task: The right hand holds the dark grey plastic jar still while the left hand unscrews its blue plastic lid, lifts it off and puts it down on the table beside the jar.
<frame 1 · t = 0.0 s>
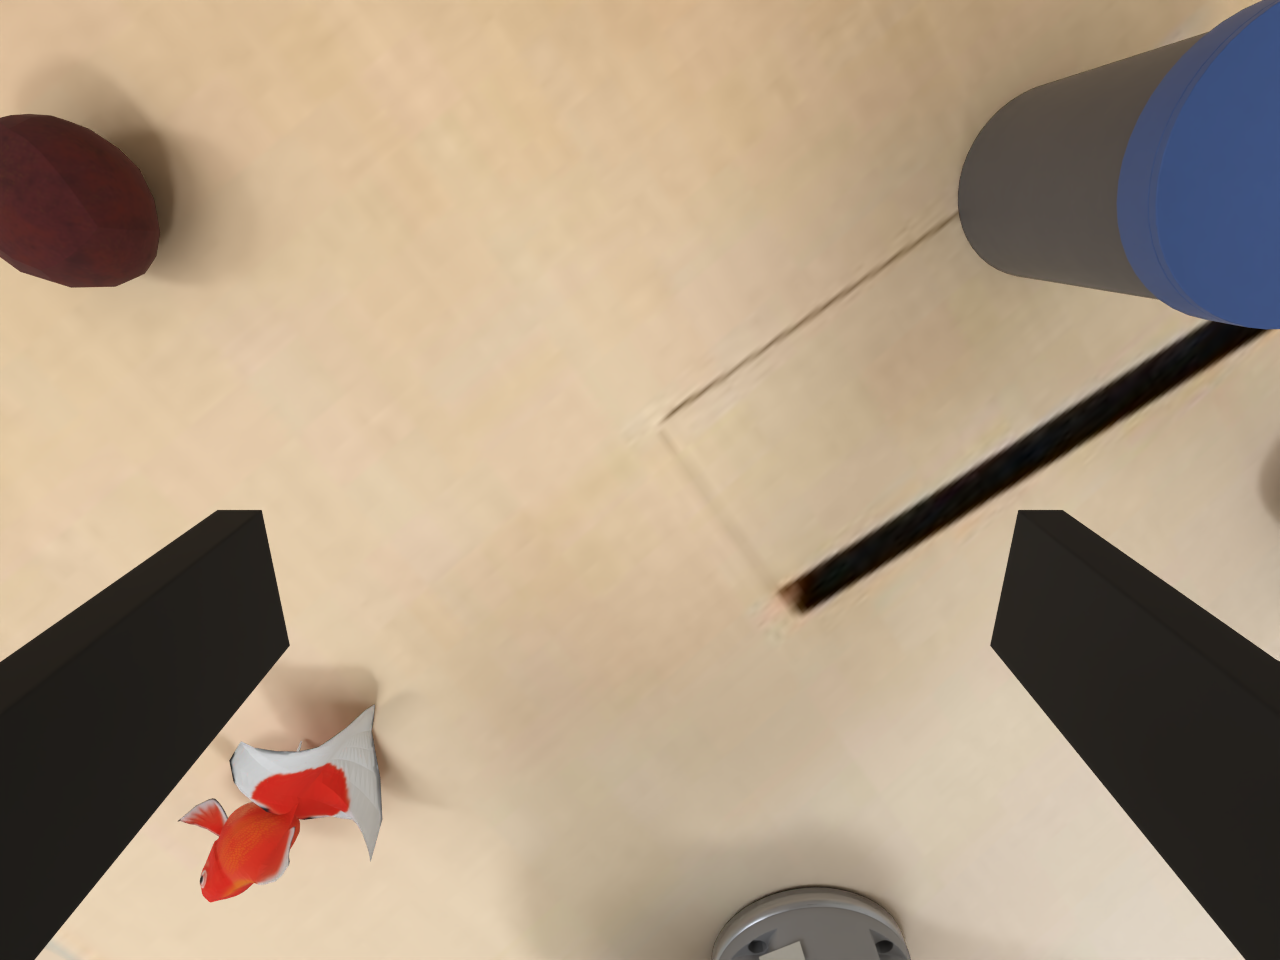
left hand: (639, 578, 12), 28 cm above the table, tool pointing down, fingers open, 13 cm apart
potato: (120, 208, 36), on the table
fish: (314, 754, 49), on the table
jar: (1048, 183, 36), on the table
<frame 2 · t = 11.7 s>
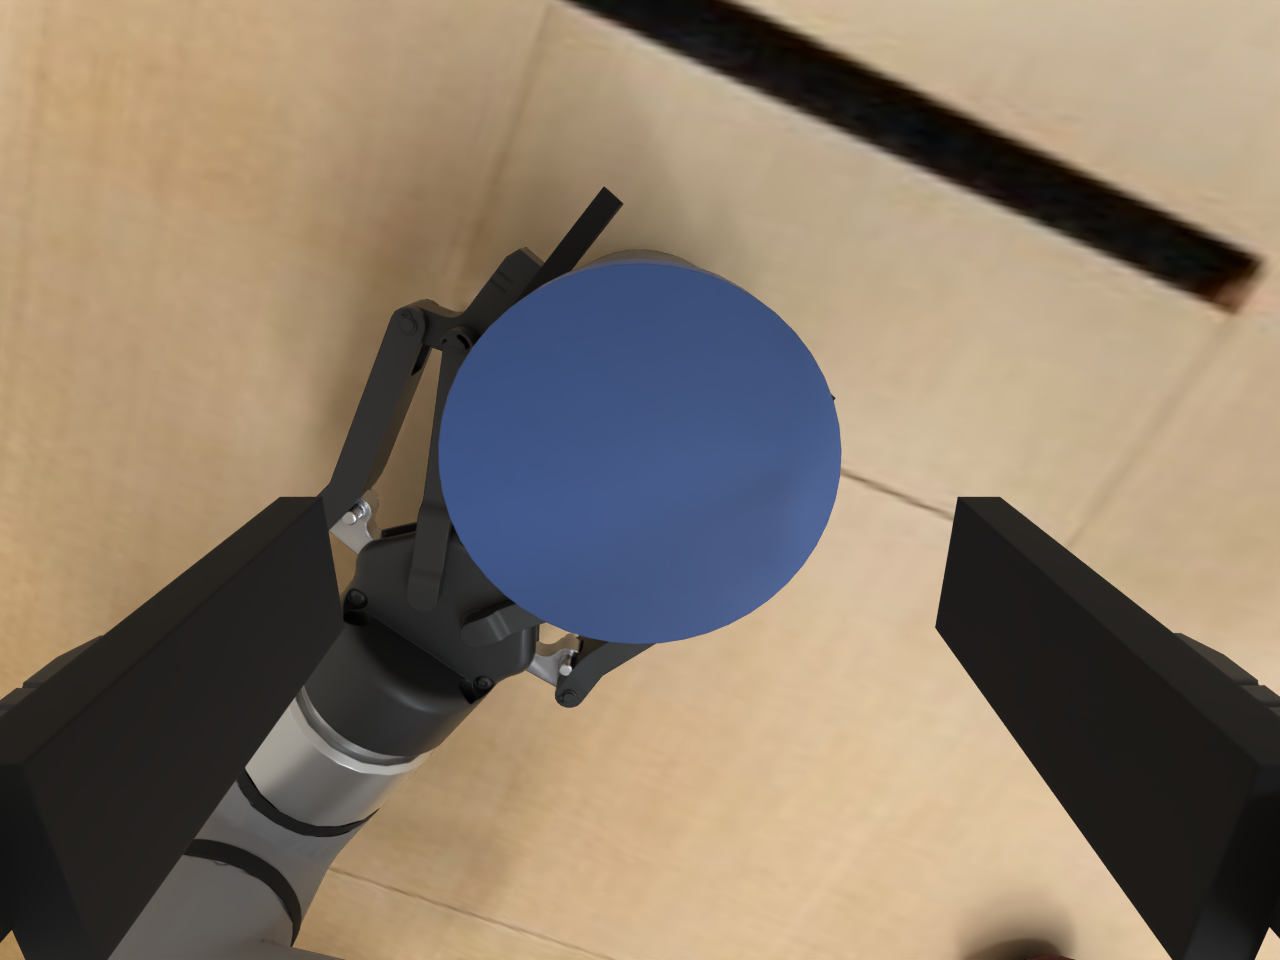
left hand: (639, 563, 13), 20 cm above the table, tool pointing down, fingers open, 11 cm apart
right hand: (721, 293, 25), fingers closed on jar, 9 cm apart
lid: (639, 468, 18), point 15 cm above the table, screwed on, not yet turned
jar: (639, 355, 32), on the table, touching right hand
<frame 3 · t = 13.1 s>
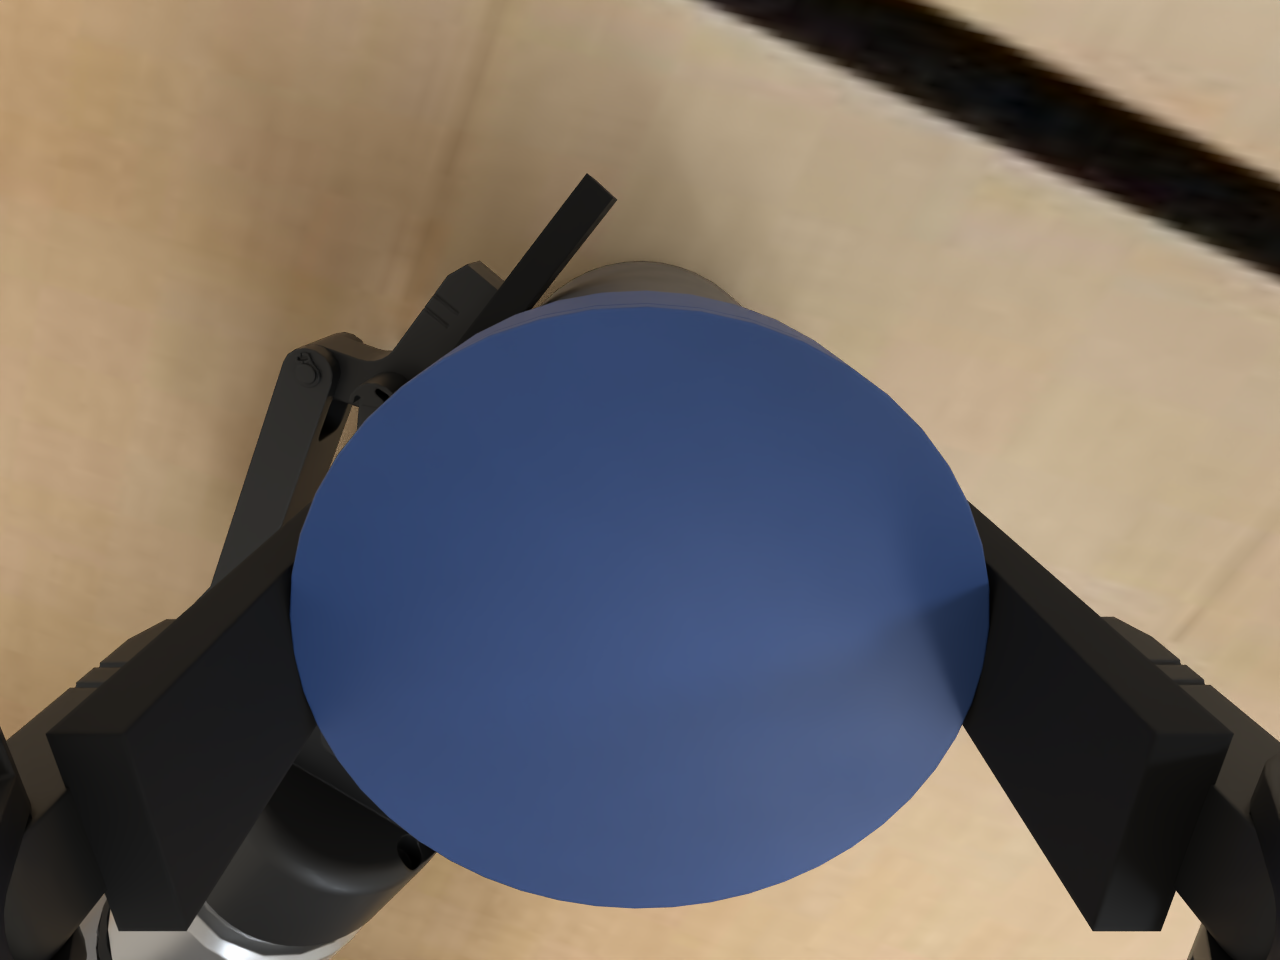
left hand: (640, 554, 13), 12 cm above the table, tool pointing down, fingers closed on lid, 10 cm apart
right hand: (755, 326, 18), fingers closed on jar, 9 cm apart
lid: (639, 646, 11), point 15 cm above the table, screwed on, not yet turned, touching left hand
jar: (640, 398, 25), on the table, touching right hand
when the left hand's fingers open (12 cm above the table, at t = 14.8 s): lid stays where it is, point 15 cm above the table.
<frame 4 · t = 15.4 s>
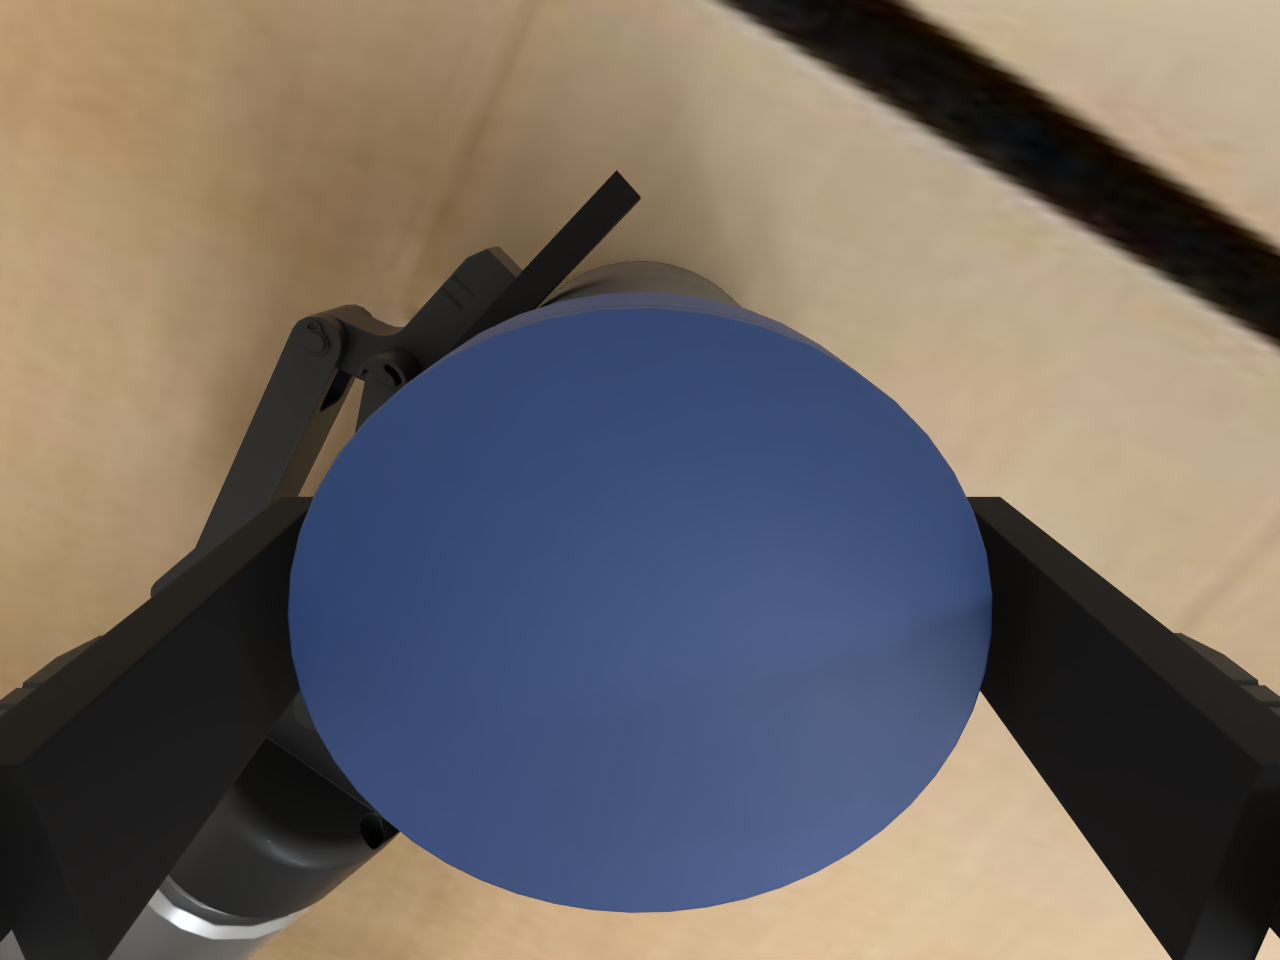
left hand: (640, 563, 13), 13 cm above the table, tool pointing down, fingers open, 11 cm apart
right hand: (765, 337, 18), fingers closed on jar, 9 cm apart
lid: (640, 650, 10), point 15 cm above the table, turned 95° so far, risen 0.2 cm, still on its thread
jar: (640, 397, 25), on the table, touching right hand
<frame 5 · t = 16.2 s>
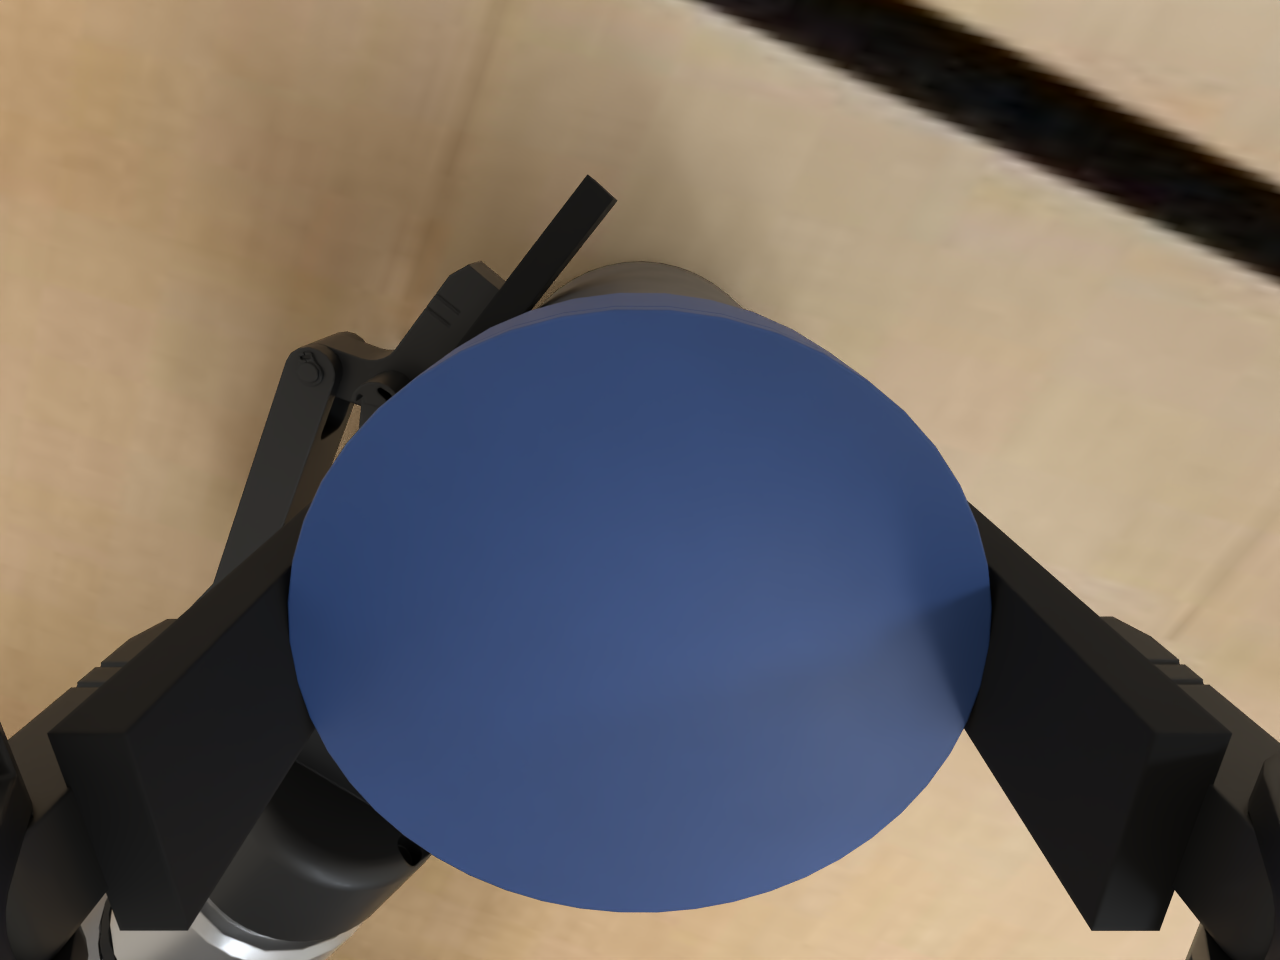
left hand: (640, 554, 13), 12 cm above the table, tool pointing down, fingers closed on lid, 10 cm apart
right hand: (754, 326, 18), fingers closed on jar, 9 cm apart
lid: (639, 650, 10), point 15 cm above the table, turned 95° so far, risen 0.2 cm, still on its thread, touching left hand
jar: (639, 397, 25), on the table, touching right hand
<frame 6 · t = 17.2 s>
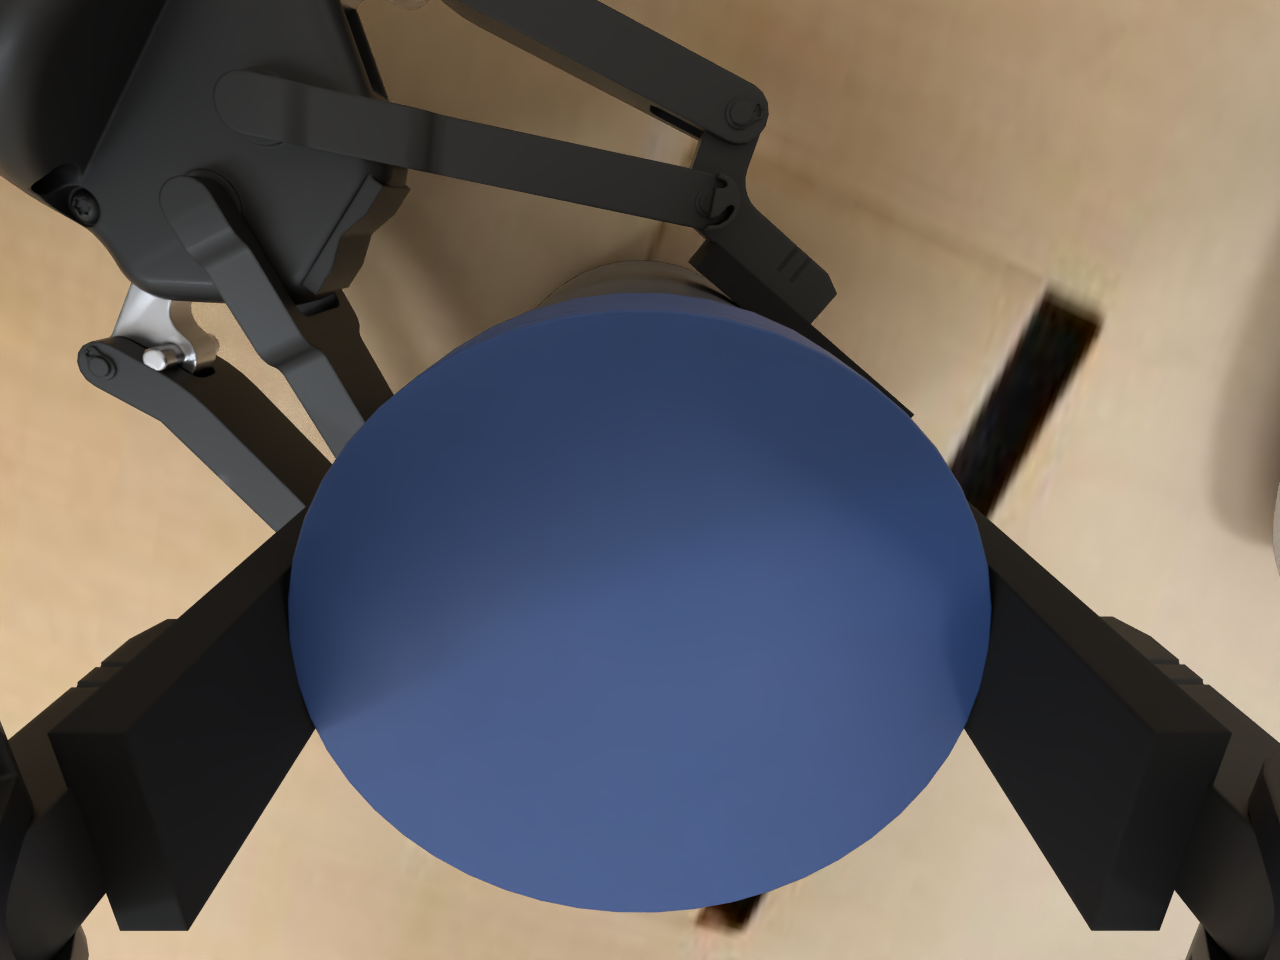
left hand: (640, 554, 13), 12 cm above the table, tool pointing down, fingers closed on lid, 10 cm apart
right hand: (760, 542, 20), fingers closed on jar, 9 cm apart
lid: (639, 650, 10), point 16 cm above the table, off its thread, touching left hand
jar: (639, 395, 25), on the table, touching right hand
when the left hand's fingers open (0 cm above the table, at t = 23.2 s): lid drops 2 cm, point 2 cm above the table.
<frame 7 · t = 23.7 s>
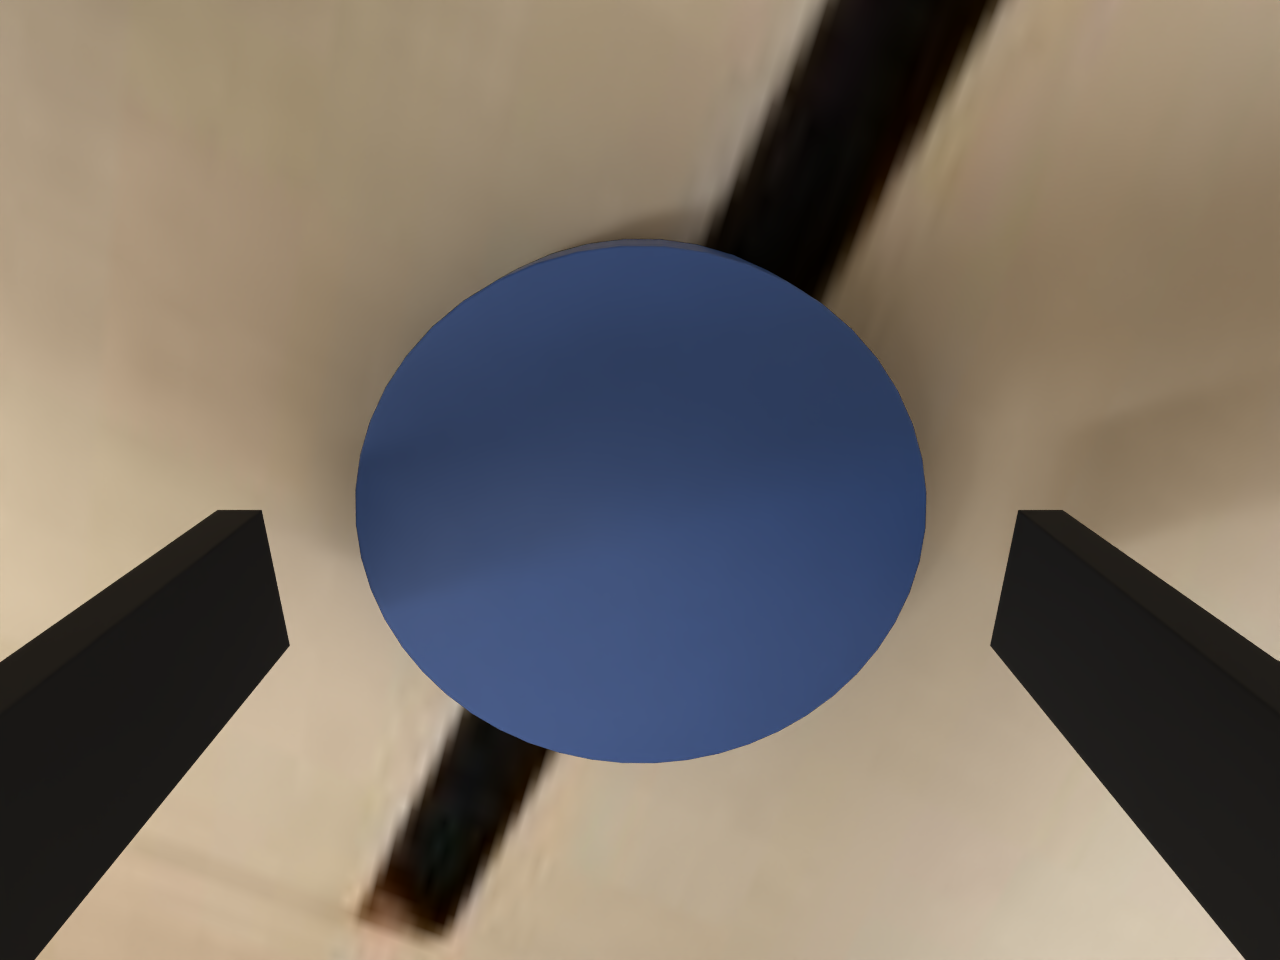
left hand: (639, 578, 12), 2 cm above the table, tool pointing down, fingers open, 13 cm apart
lid: (640, 534, 13), point 2 cm above the table, off its thread
when the right hand's fingers open (6 cm above the table, at t = 24.2 s): jar stays where it is, on the table.
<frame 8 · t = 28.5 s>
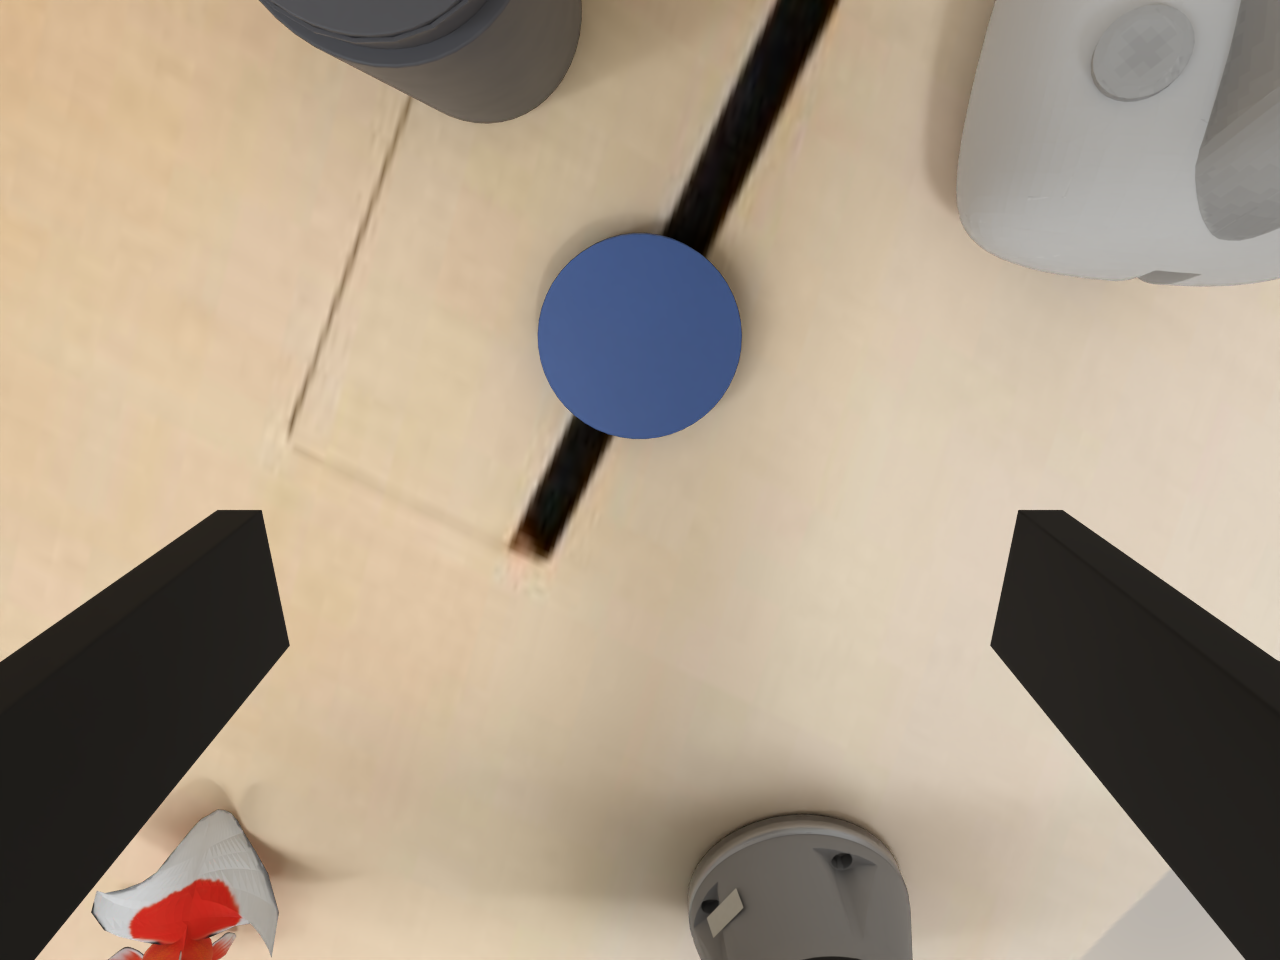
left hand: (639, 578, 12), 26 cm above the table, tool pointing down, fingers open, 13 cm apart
projector: (1136, 1, 31), on the table
lid: (639, 340, 35), point 2 cm above the table, off its thread
fish: (215, 872, 50), on the table
jar: (478, 8, 31), on the table
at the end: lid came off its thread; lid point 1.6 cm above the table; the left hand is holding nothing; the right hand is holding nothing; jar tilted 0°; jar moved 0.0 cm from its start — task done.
